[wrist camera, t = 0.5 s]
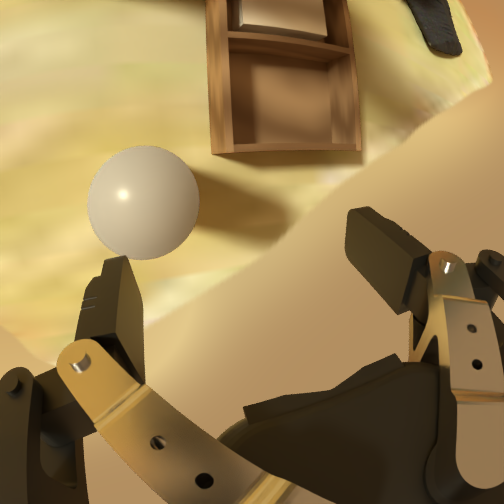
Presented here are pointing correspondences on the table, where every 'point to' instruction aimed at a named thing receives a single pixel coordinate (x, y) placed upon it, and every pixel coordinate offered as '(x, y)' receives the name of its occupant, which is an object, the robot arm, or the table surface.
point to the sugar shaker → (143, 202)
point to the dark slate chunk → (436, 25)
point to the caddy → (281, 76)
